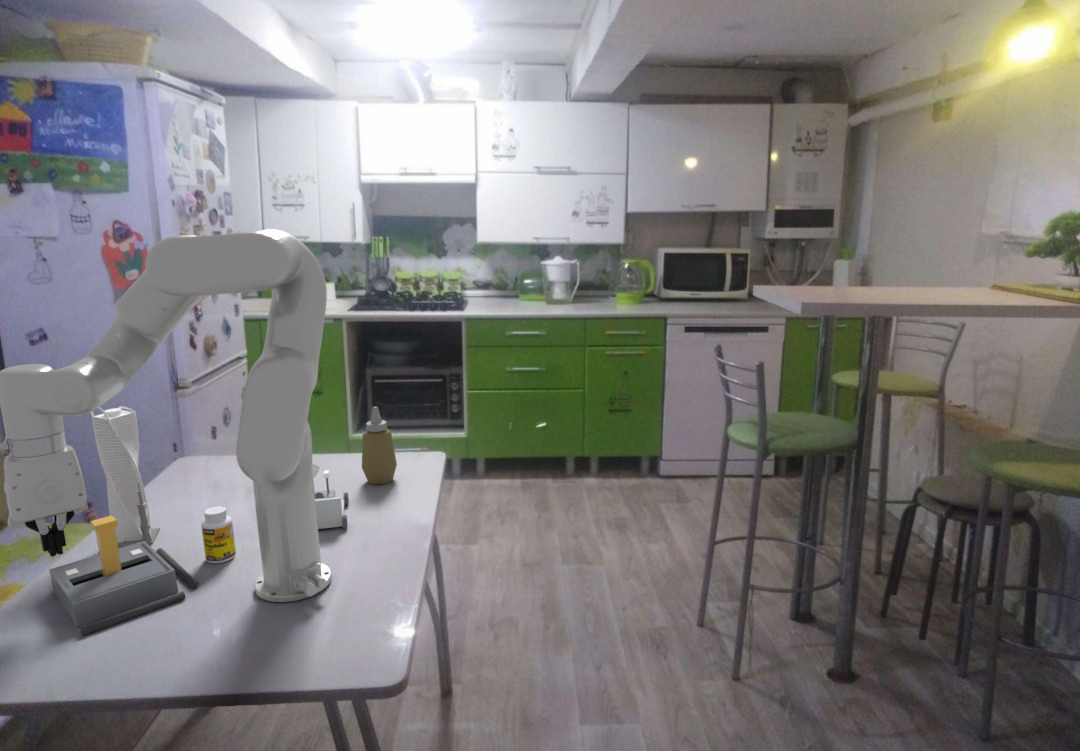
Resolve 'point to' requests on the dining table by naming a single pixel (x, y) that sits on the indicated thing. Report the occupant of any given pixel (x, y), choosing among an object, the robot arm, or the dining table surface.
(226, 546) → the supplement bottle
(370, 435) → the squeeze bottle
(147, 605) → the grey thin bar
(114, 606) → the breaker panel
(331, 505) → the toy rover
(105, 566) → the breaker lever
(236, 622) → the dining table surface
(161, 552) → the dark grey rod
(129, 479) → the skyscraper
